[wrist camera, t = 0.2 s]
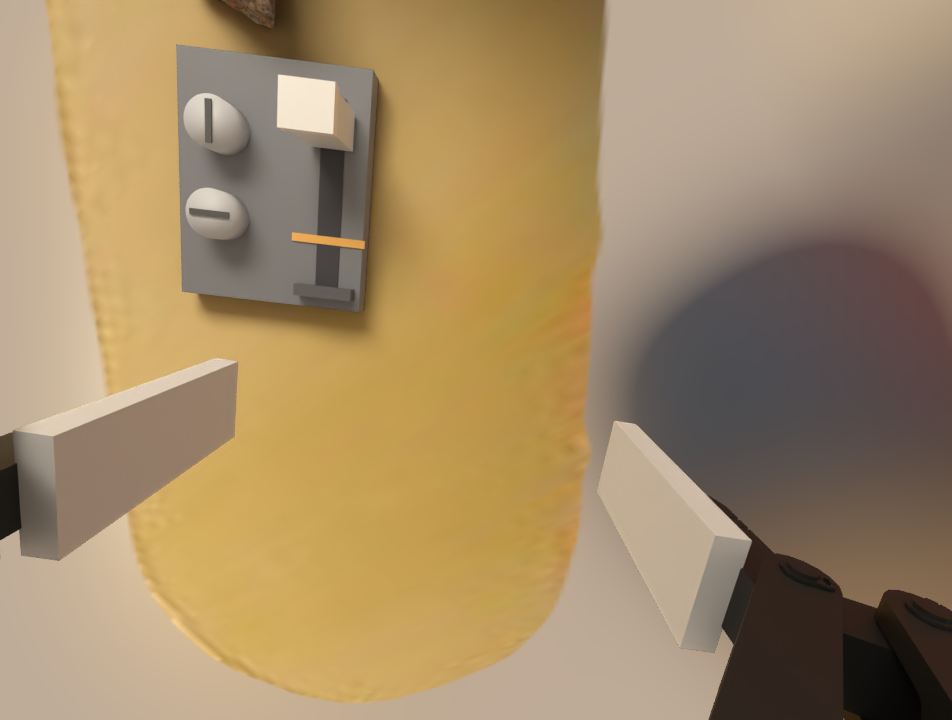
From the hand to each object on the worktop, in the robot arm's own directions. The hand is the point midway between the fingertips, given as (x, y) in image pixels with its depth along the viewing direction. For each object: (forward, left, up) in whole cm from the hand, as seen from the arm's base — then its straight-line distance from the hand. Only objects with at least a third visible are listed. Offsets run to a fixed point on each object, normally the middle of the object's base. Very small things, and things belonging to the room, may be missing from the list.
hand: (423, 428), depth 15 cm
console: (-10, -17, -28) cm, 34 cm away
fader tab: (-15, -12, -25) cm, 32 cm away
